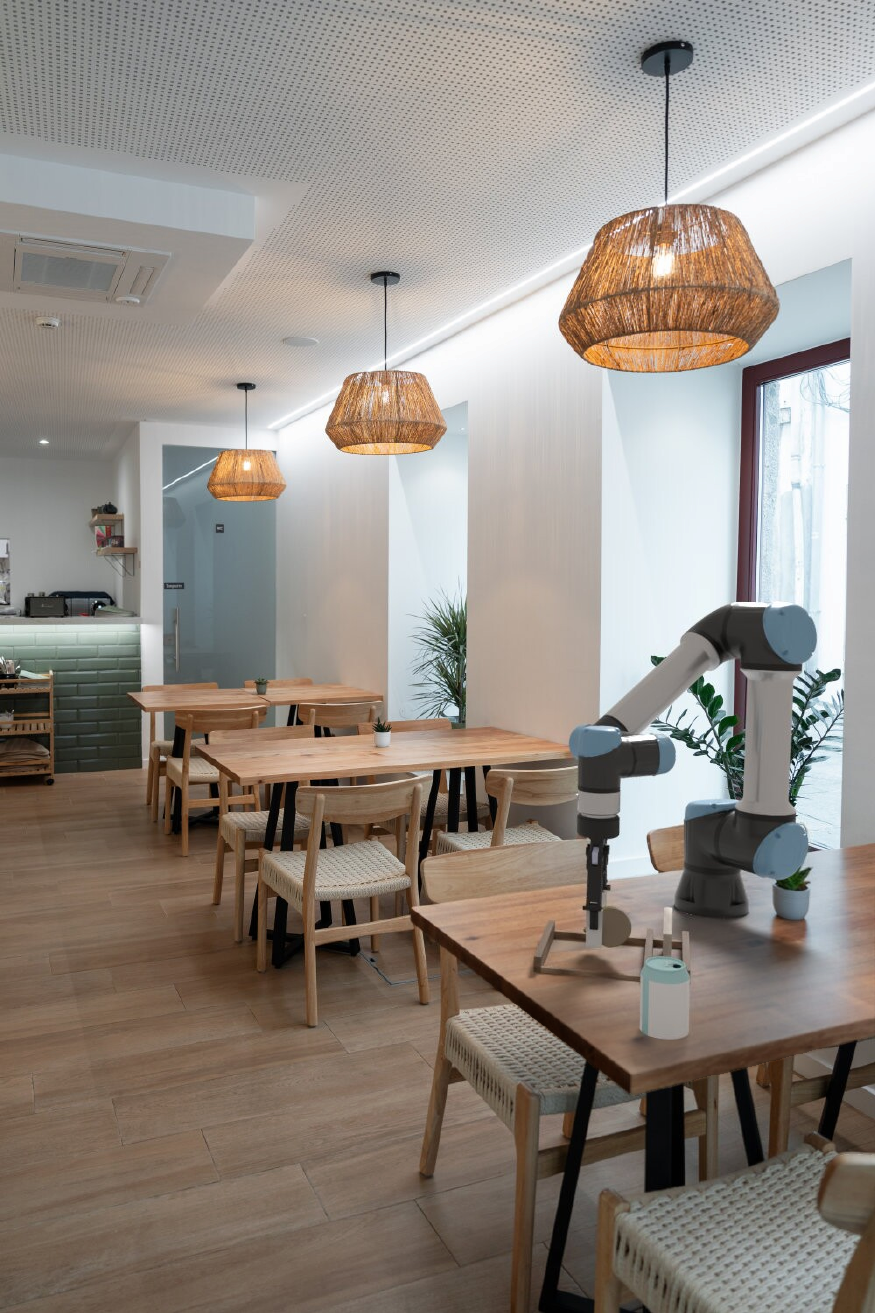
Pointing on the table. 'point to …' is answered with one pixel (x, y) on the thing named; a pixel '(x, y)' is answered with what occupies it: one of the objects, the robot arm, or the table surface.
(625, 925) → the mug
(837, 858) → the table surface
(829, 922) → the table surface
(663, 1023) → the can
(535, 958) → the rack
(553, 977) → the table surface
